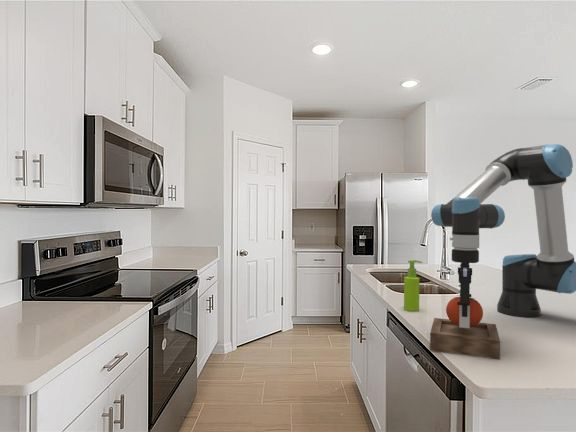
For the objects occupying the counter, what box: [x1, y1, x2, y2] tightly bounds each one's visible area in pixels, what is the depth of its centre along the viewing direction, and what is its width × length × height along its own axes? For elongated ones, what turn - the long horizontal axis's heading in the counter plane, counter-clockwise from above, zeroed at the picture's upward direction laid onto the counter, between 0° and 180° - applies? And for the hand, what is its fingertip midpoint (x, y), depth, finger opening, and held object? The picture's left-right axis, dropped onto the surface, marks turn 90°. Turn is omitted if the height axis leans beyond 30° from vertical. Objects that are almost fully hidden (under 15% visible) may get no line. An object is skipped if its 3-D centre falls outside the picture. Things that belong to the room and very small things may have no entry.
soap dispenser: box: [403, 259, 423, 312], centre depth 166 cm, size 6×7×20 cm
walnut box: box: [429, 317, 501, 360], centre depth 123 cm, size 18×18×5 cm
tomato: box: [445, 294, 484, 327], centre depth 123 cm, size 10×10×10 cm
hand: (464, 322), depth 123 cm, fingers closed on tomato, 10 cm apart
